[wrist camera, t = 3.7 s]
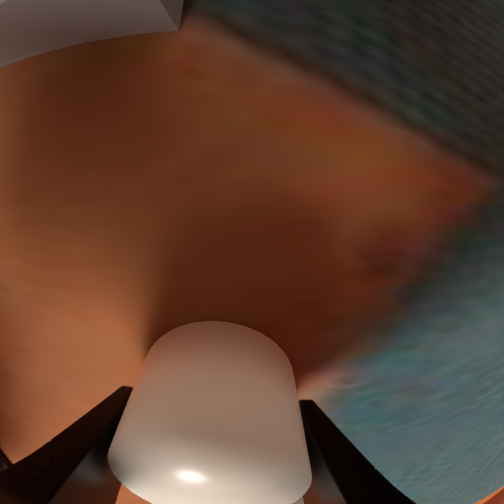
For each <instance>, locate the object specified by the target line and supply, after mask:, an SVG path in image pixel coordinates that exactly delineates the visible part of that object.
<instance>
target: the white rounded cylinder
mask: <svg viewBox="0 0 504 504" xmlns="http://www.w3.org/2000/svg"><path fill="white" fill-rule="evenodd" d="M108 464H109V466H110V469H111V471H112V472H113V474H114V475H115V477H116V478H117V479H118V480H119V481H120V482H121V483H122V484H123V485H124V486H125V487H126V488H128V489H129V490H130V491H131V492H133V493H134V494H136V495H138V496H139V497H141V498H143V499H144V500H146V501H148V502H150V503H152V504H292V503H294V502H296V501H297V500H298V499H300V498H301V497H302V496H303V495H304V494H305V493H306V492H307V490H308V489H309V487H310V485H311V482H312V472H311V467H310V461H309V455H308V450H307V444H306V438H305V433H304V427H303V422H302V416H301V411H300V405H299V400H298V395H297V389H296V384H295V379H294V373H293V369H292V365H291V363H290V361H289V359H288V357H287V356H286V354H285V353H284V351H283V350H282V349H281V348H280V347H279V346H278V345H277V344H276V343H275V342H274V341H272V340H271V339H270V338H268V337H267V336H265V335H264V334H262V333H260V332H258V331H256V330H254V329H252V328H249V327H246V326H243V325H239V324H235V323H231V322H223V321H201V322H194V323H189V324H185V325H182V326H179V327H176V328H174V329H172V330H170V331H168V332H167V333H165V334H164V335H163V336H161V337H160V338H159V339H158V340H157V341H156V342H155V343H154V344H153V346H152V347H151V348H150V350H149V352H148V354H147V356H146V359H145V361H144V364H143V366H142V368H141V371H140V373H139V375H138V378H137V380H136V383H135V385H134V387H133V390H132V392H131V395H130V397H129V400H128V402H127V405H126V407H125V410H124V412H123V415H122V417H121V420H120V422H119V425H118V427H117V430H116V433H115V435H114V438H113V440H112V443H111V446H110V448H109V451H108Z"/></svg>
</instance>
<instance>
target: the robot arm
mask: <svg viewBox="0 0 504 504" xmlns="http://www.w3.org/2000/svg"><path fill="white" fill-rule="evenodd" d="M132 390H133V387H129V386H121V387H120V388H119V389H117V390H116V391H115V392H114V393H112V394H111V395H110V396H108V397H107V398H106V399H104V400H103V401H102V402H101V403H99V404H98V405H97V406H95V407H94V408H93V409H91V410H90V411H89V412H87V413H86V414H85V415H83V416H82V417H81V418H80V419H78V420H77V421H76V422H74V423H73V424H72V425H70V426H69V427H68V428H66V429H65V430H64V431H62V432H61V433H60V434H58V435H57V436H56V437H54V438H53V439H51V441H50V442H47V443H46V444H45V445H43V446H42V447H40V448H39V449H38V450H36V451H35V452H33V453H32V454H30V455H29V456H27V457H25V458H23V459H22V460H20V461H18V462H17V463H15V464H13V465H11V466H10V465H9V463H8V462H7V461H6V459H5V458H4V457H3V455H2V454H1V453H0V504H115V503H116V500H117V496H118V493H119V490H120V486H121V482H120V481H119V480H118V479H117V478H116V477H115V475H114V474H113V472H112V471H111V469H110V466H109V464H108V451H109V448H110V446H111V443H112V440H113V438H114V435H115V433H116V430H117V427H118V425H119V422H120V420H121V417H122V415H123V412H124V410H125V407H126V405H127V402H128V400H129V397H130V395H131V392H132ZM299 405H300V411H301V416H302V422H303V427H304V433H305V438H306V444H307V450H308V455H309V461H310V467H311V472H312V482H311V485H310V487H309V489H308V490H307V492H306V493H305V494H304V495H303V500H304V504H416V503H415V502H413V501H412V500H411V499H409V498H408V497H407V496H405V495H404V494H403V493H402V492H401V491H399V490H398V489H397V488H396V487H394V486H393V485H392V484H391V483H390V482H389V481H388V480H387V479H386V478H385V477H384V476H383V475H382V474H381V473H380V472H379V471H378V470H377V469H375V467H374V466H373V465H372V464H371V463H370V462H369V461H368V460H367V459H366V458H365V457H364V456H363V455H362V453H361V452H360V451H359V450H358V449H357V448H356V447H355V446H354V445H353V444H352V443H351V442H350V441H349V440H348V439H347V437H346V436H345V435H344V434H343V433H342V432H341V431H340V430H339V429H338V428H337V427H336V425H335V424H334V423H333V422H332V421H331V420H330V419H329V418H328V417H327V416H326V414H325V413H324V412H323V411H322V410H321V409H320V408H319V407H318V405H317V404H316V403H315V402H314V401H313V400H300V401H299Z"/></svg>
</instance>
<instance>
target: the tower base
mask: <svg viewBox="0 0 504 504" xmlns="http://www.w3.org/2000/svg"><path fill="white" fill-rule="evenodd" d="M183 1H184V0H0V67H3V66H6V65H8V64H11V63H14V62H17V61H20V60H23V59H26V58H29V57H32V56H36V55H39V54H42V53H46V52H50V51H53V50H57V49H61V48H65V47H69V46H74V45H78V44H83V43H88V42H93V41H98V40H104V39H110V38H116V37H123V36H130V35H139V34H148V33H159V32H173V31H179V28H180V21H181V14H182V8H183Z"/></svg>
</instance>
